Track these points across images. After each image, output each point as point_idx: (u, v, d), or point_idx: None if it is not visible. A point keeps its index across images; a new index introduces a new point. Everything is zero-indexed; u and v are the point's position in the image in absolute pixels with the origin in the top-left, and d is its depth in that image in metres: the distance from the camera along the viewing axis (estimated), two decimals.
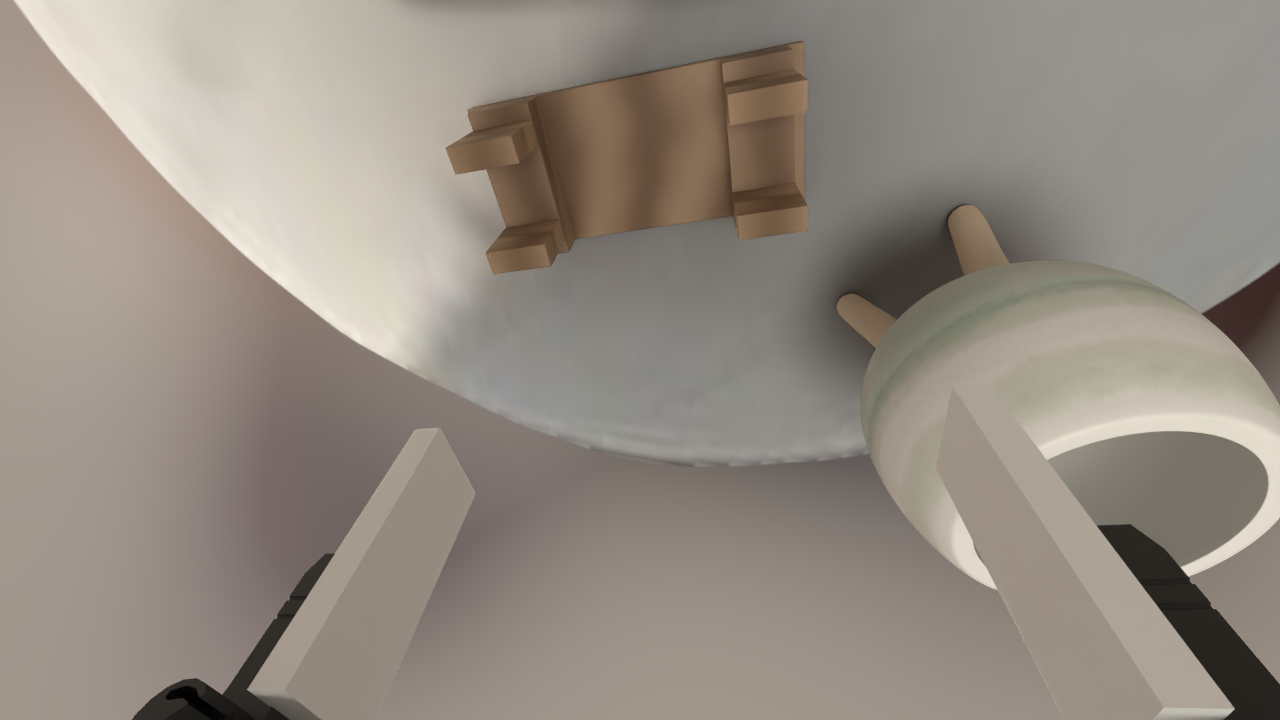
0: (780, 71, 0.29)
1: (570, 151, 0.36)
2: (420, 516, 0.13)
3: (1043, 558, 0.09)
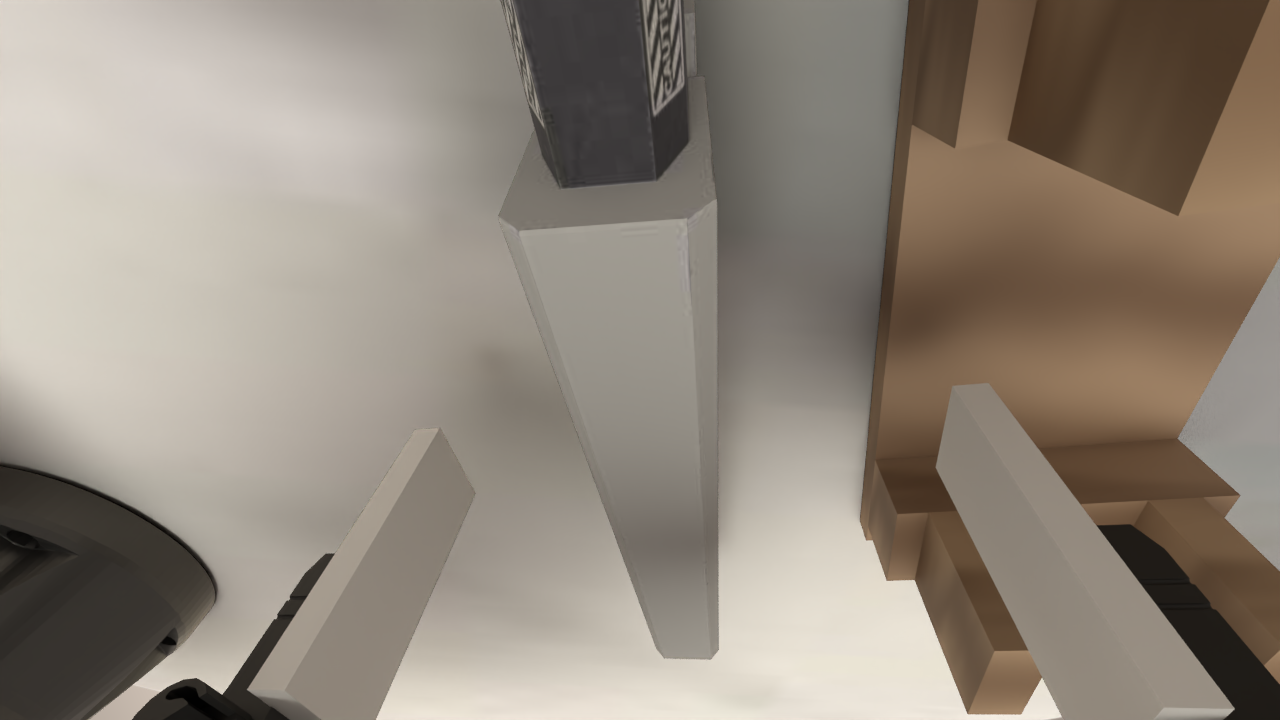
0: None
1: None
2: (420, 516, 0.13)
3: (1043, 558, 0.09)
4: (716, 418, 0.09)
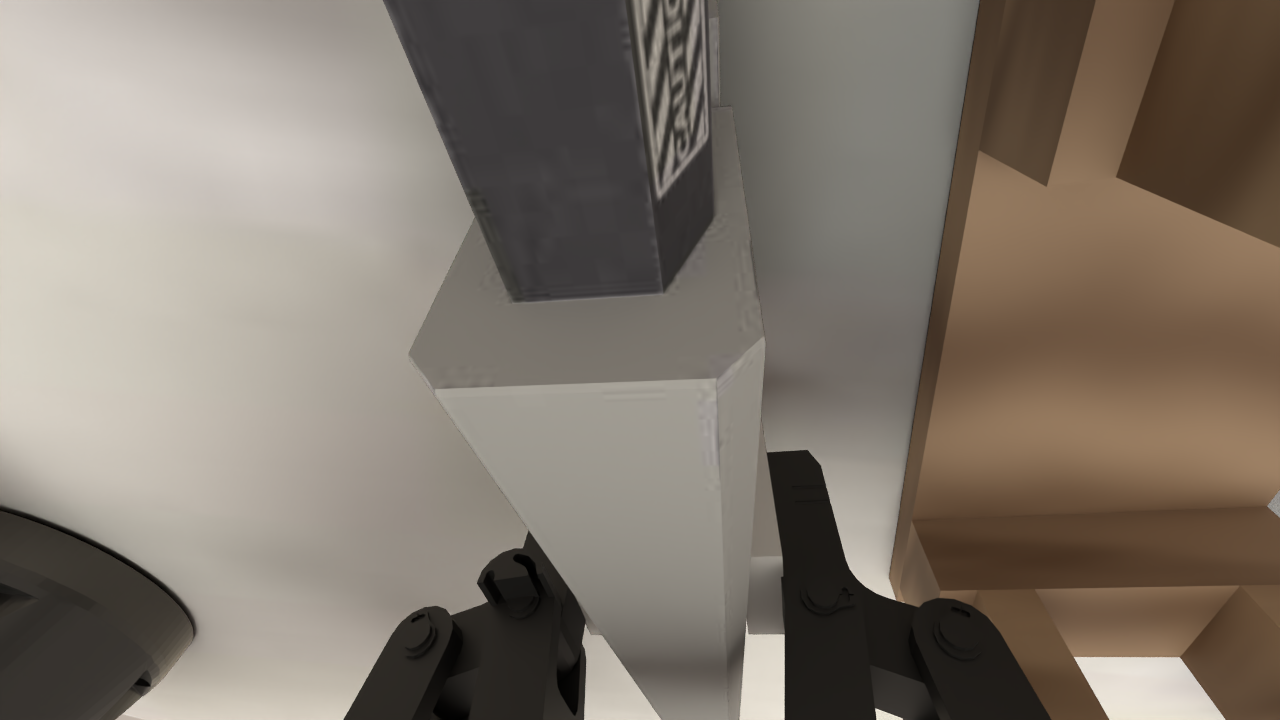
0: None
1: (1046, 489, 0.16)
2: None
3: None
4: (748, 570, 0.06)
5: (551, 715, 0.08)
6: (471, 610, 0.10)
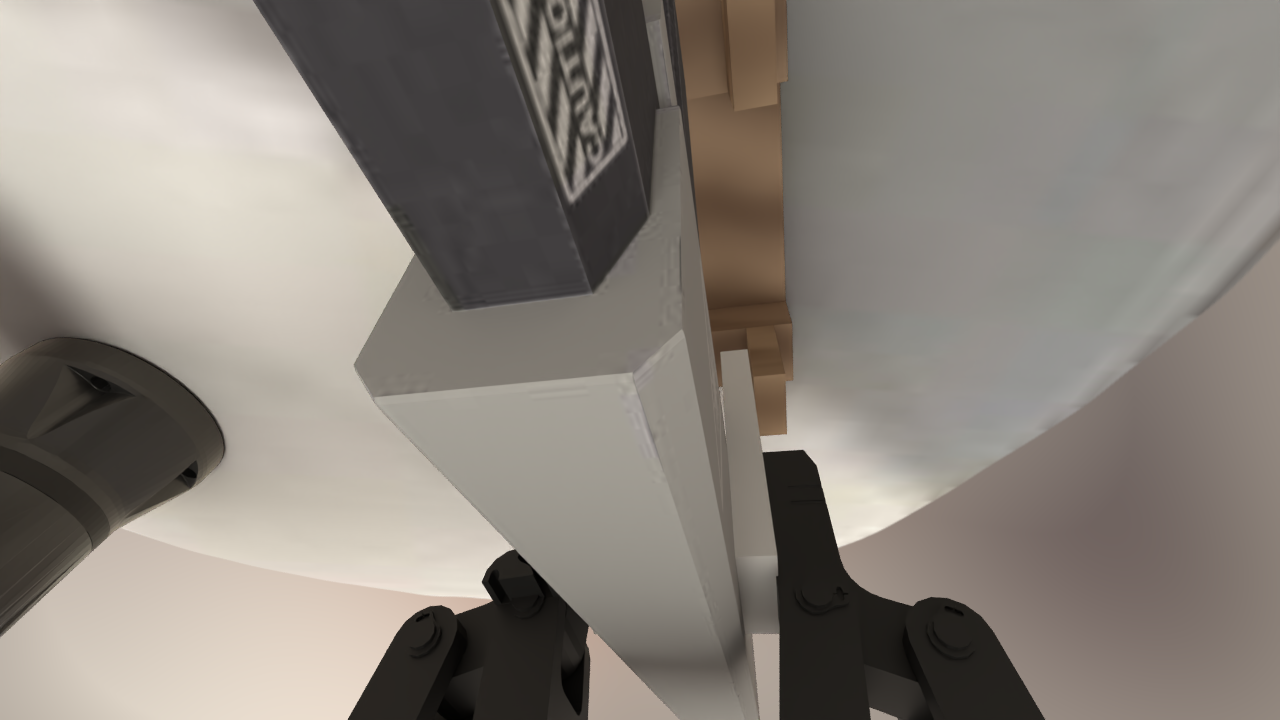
0: None
1: None
2: None
3: None
4: (726, 562, 0.06)
5: (555, 715, 0.08)
6: (475, 610, 0.10)
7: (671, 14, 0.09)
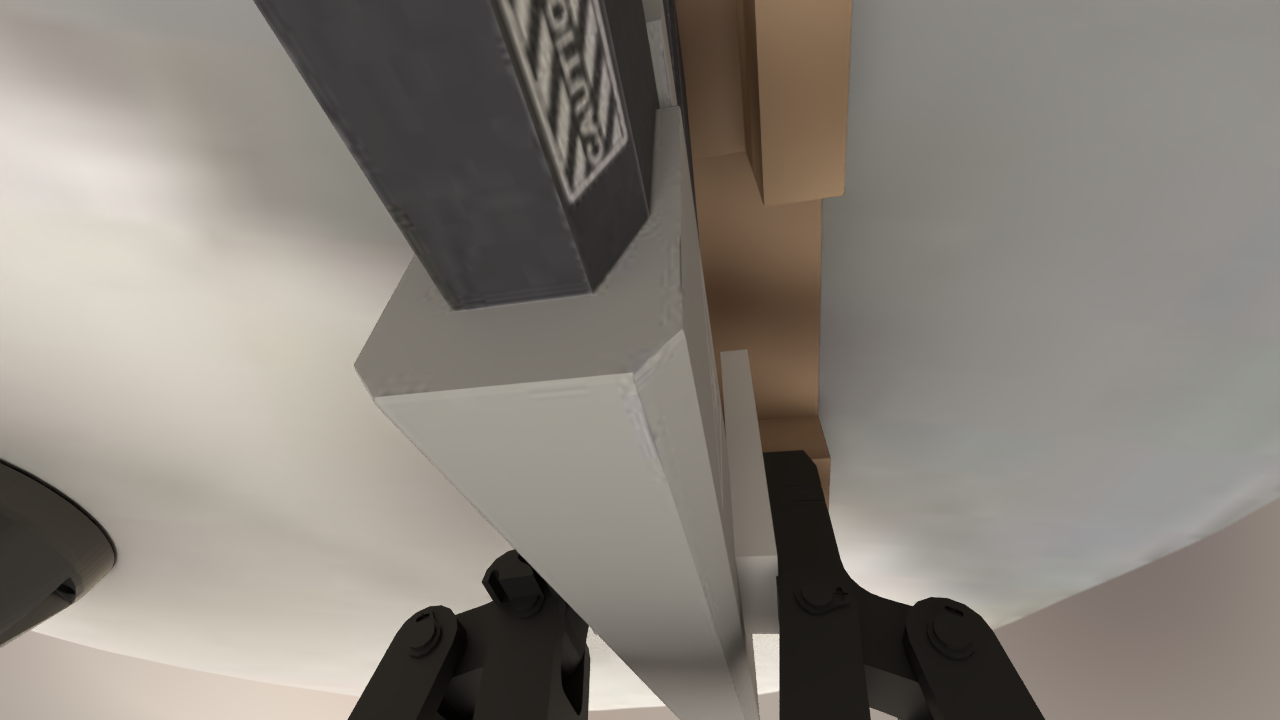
0: None
1: None
2: None
3: None
4: (726, 562, 0.06)
5: (555, 715, 0.08)
6: (475, 610, 0.10)
7: (670, 14, 0.09)
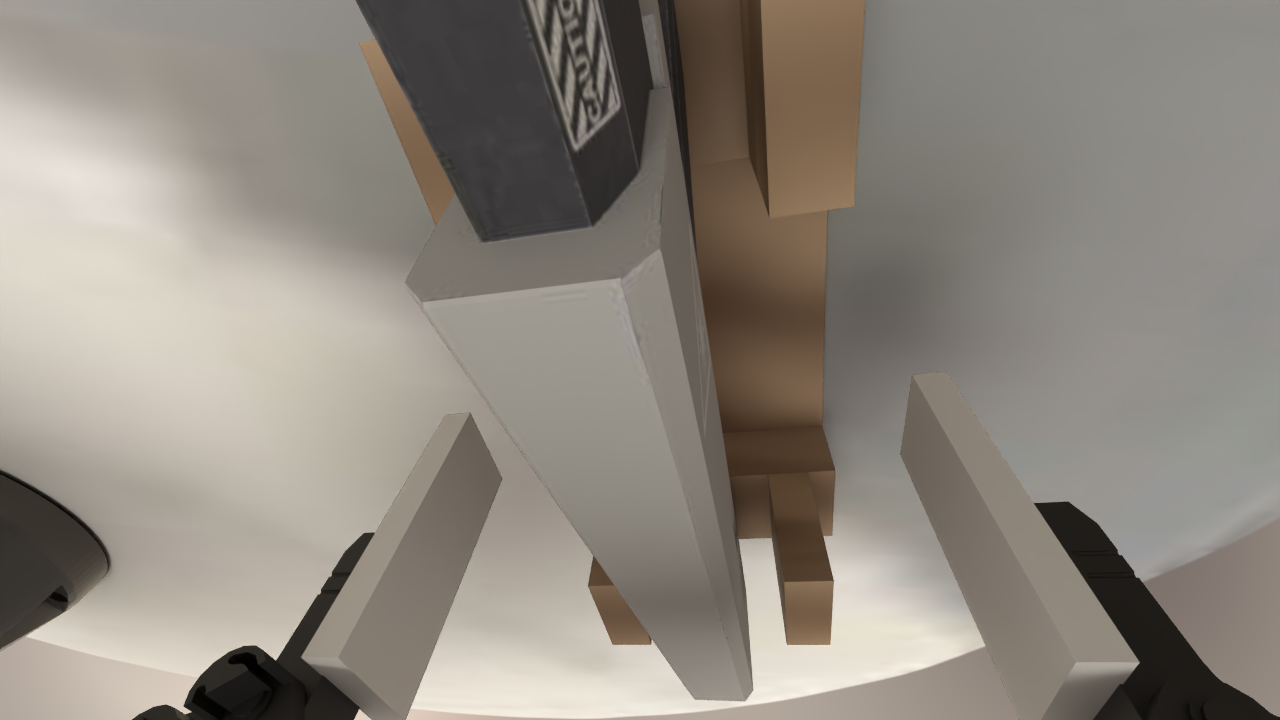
0: None
1: None
2: (453, 498, 0.13)
3: (984, 533, 0.09)
4: (707, 482, 0.07)
5: None
6: None
7: (669, 10, 0.10)
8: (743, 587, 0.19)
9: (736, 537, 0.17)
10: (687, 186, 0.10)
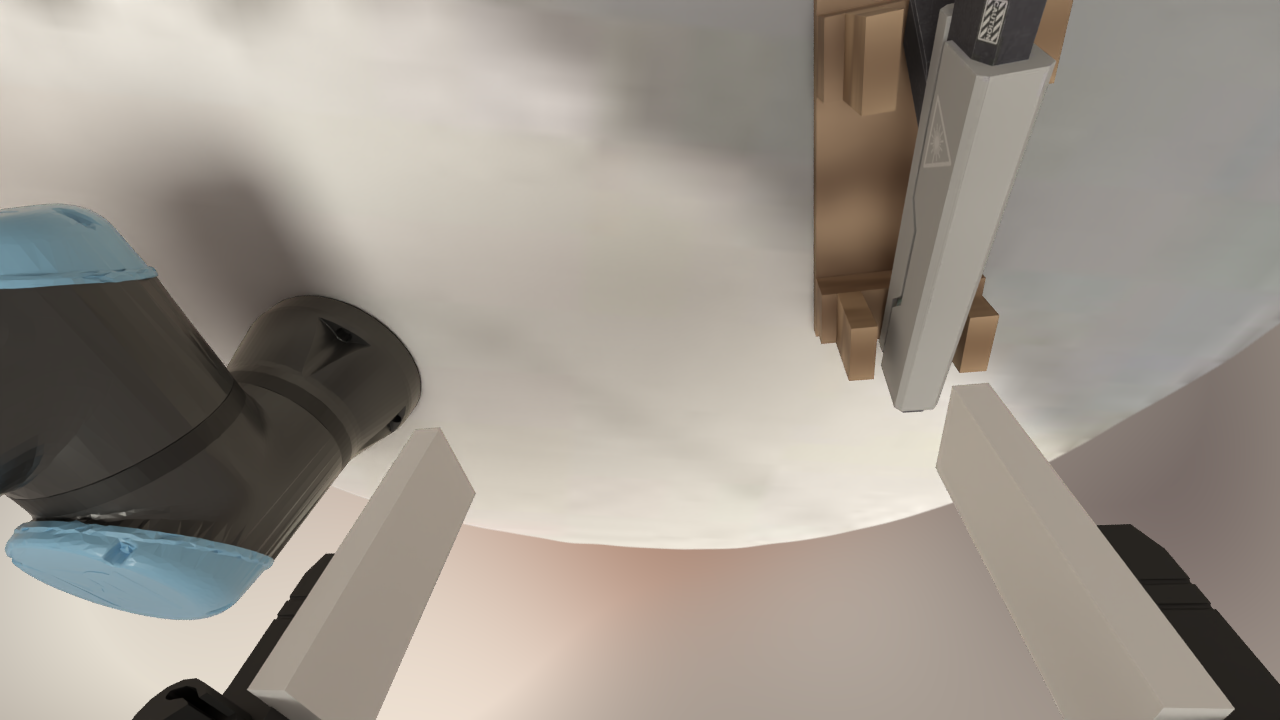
0: (844, 31, 0.26)
1: (872, 255, 0.35)
2: (420, 516, 0.13)
3: (1043, 558, 0.09)
4: None
5: None
6: None
7: None
8: None
9: None
10: None
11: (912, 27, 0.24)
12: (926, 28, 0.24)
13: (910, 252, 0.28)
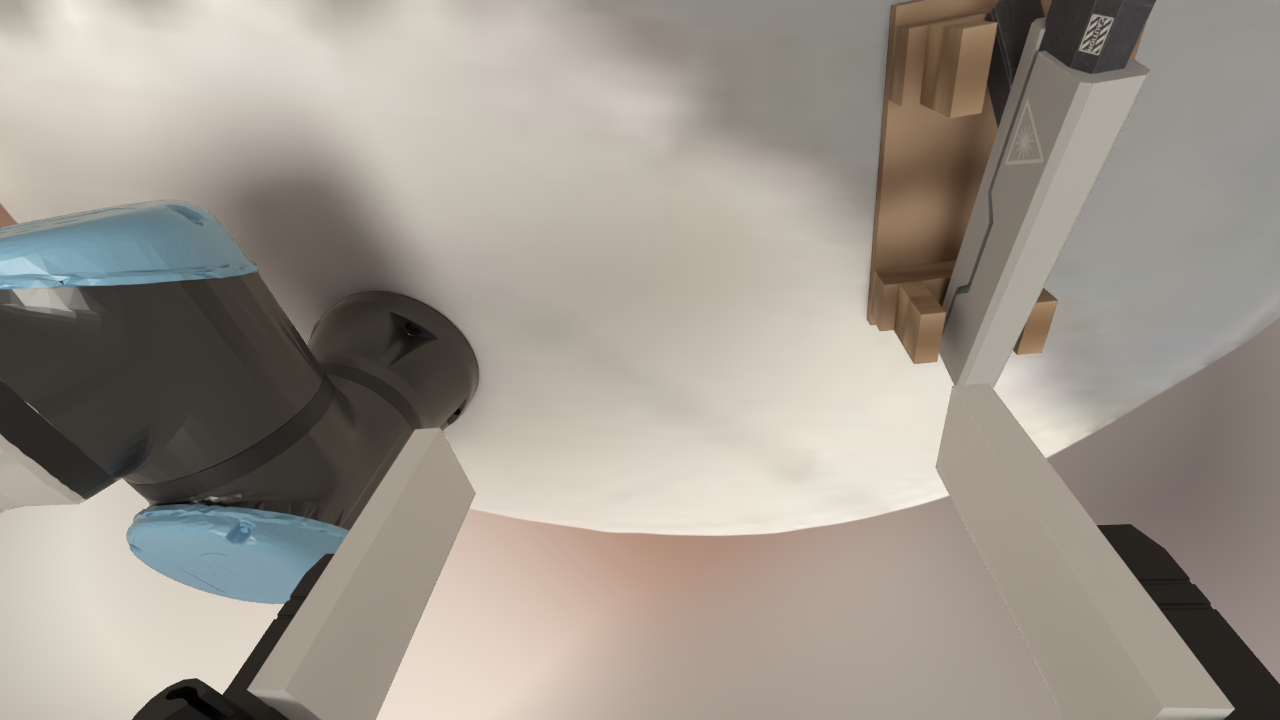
0: (926, 40, 0.29)
1: (929, 248, 0.38)
2: (420, 516, 0.13)
3: (1043, 558, 0.09)
4: None
5: None
6: None
7: (1045, 17, 0.26)
8: None
9: None
10: None
11: None
12: (1008, 39, 0.26)
13: (982, 242, 0.30)
